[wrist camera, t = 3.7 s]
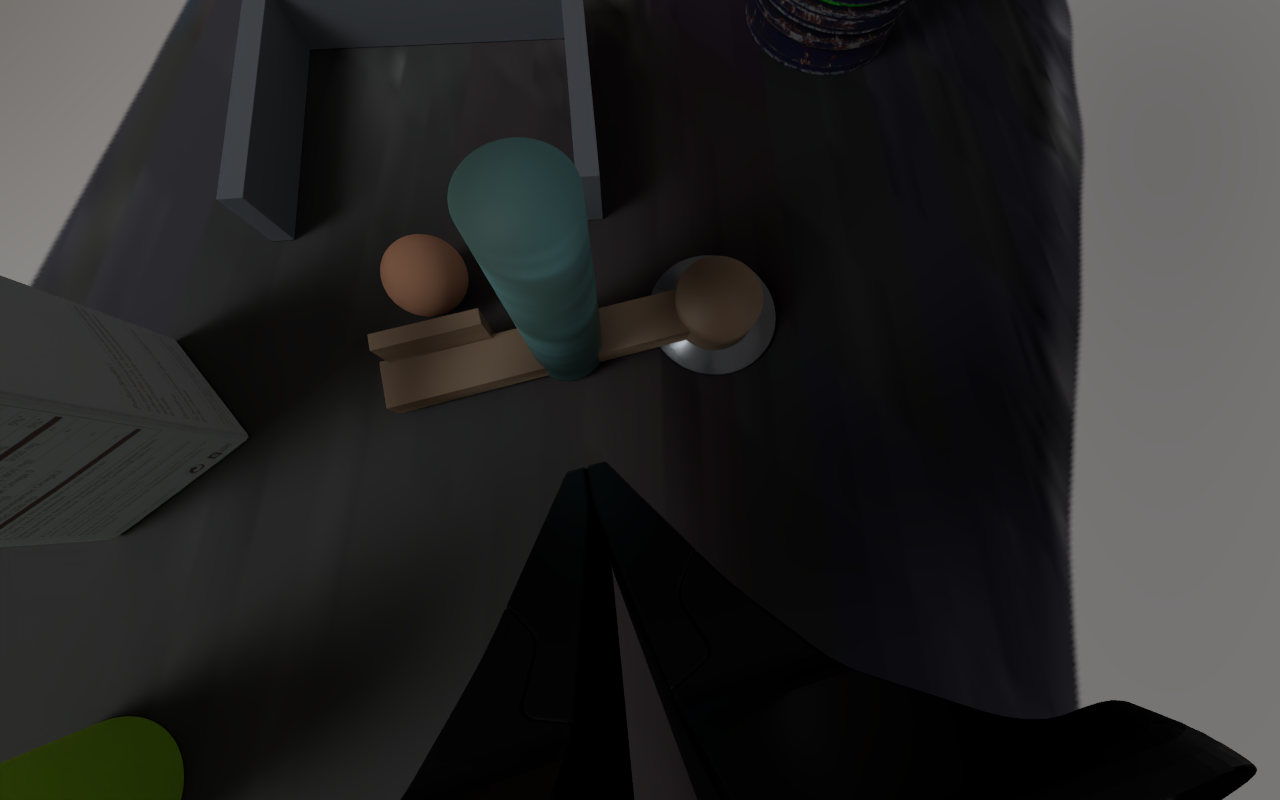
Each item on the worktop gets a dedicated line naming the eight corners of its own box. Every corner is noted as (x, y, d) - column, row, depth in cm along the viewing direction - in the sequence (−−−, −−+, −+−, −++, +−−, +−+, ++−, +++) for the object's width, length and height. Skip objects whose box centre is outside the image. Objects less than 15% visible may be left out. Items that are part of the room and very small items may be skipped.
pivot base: (749, 246, 26) (751, 243, 26) (791, 357, 24) (793, 355, 24) (633, 274, 25) (633, 271, 25) (668, 390, 24) (669, 388, 23)
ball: (446, 342, 24) (412, 310, 20) (388, 302, 24) (344, 263, 20) (493, 286, 25) (469, 245, 21) (437, 248, 25) (402, 201, 21)
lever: (737, 268, 25) (836, 59, 13) (763, 339, 24) (894, 181, 12) (390, 352, 23) (154, 196, 12) (404, 433, 22) (161, 352, 11)
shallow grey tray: (602, 219, 26) (599, 175, 23) (272, 241, 25) (216, 199, 22) (584, 23, 29) (579, -41, 26) (291, 35, 28) (246, -30, 25)
